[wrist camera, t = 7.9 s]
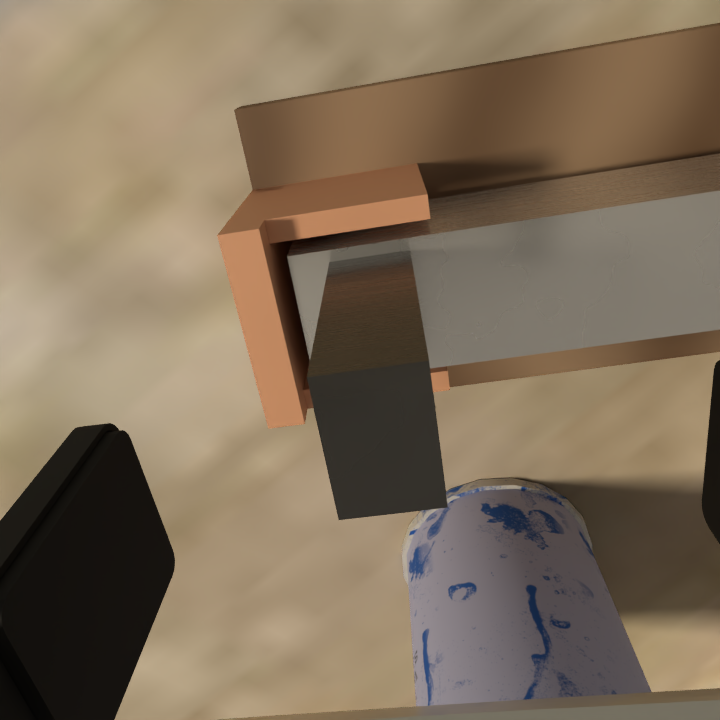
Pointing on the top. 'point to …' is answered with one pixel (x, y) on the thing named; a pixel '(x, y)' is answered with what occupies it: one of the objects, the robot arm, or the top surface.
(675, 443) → the top surface
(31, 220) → the top surface
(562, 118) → the track board
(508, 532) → the aerosol can
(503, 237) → the square sliding rod
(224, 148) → the top surface
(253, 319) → the socket block
